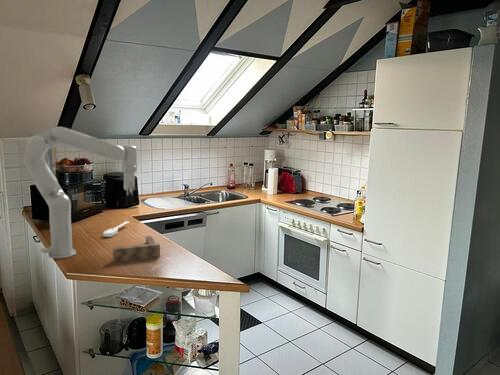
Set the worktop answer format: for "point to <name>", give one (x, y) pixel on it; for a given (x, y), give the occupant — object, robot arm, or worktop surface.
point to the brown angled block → (137, 251)
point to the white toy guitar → (113, 230)
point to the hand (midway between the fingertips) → (129, 202)
